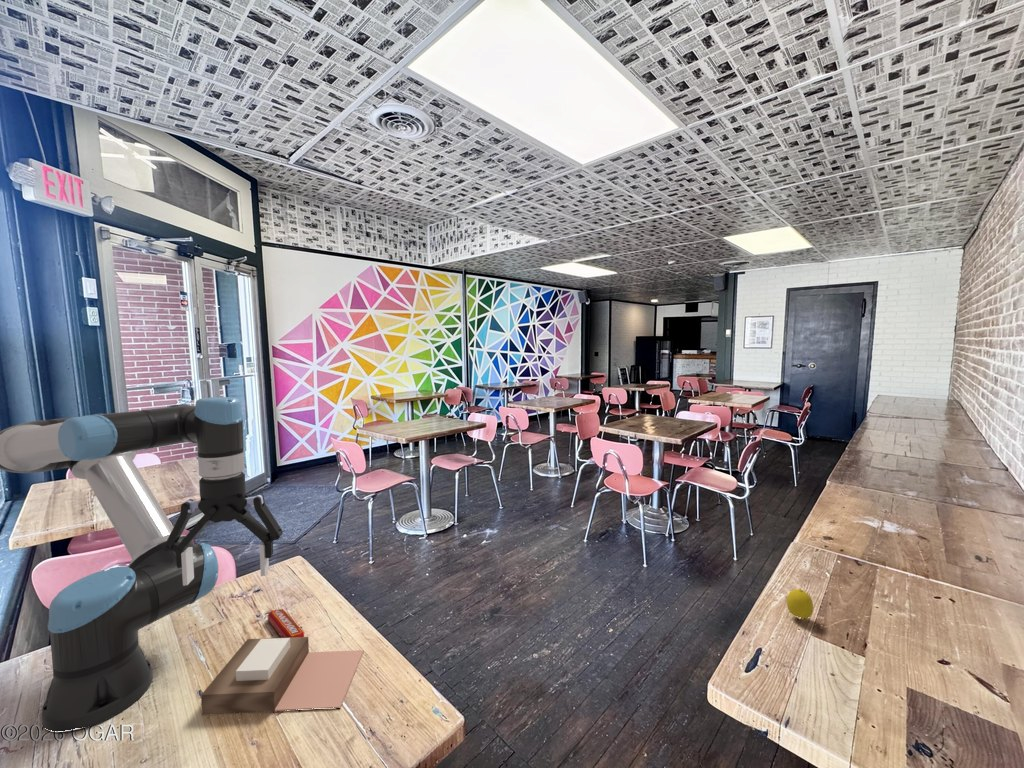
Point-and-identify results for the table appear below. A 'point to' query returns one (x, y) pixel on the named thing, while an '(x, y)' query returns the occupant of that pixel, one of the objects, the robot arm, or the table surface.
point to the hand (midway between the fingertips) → (227, 577)
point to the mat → (321, 680)
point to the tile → (263, 659)
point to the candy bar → (284, 624)
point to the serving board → (253, 682)
